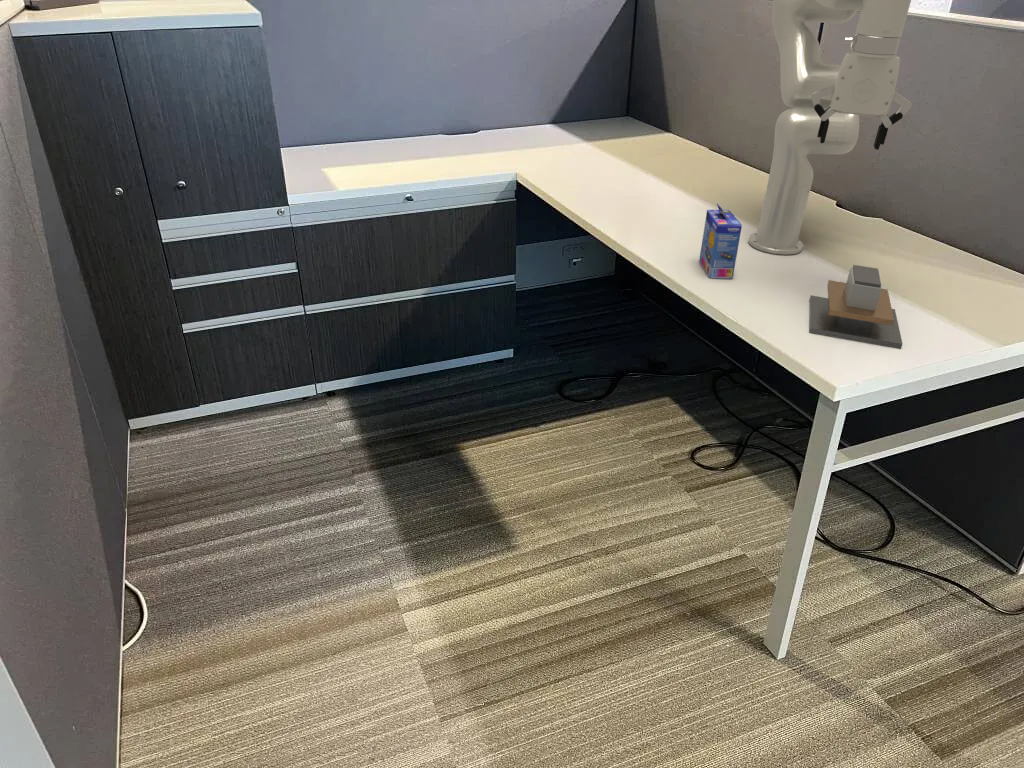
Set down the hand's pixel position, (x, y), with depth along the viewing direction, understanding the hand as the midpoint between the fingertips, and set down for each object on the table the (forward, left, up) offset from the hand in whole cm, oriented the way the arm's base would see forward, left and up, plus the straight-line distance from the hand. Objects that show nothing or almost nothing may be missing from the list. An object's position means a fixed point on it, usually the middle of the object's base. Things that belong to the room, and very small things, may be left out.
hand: (848, 144), depth 144 cm
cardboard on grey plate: (+12, +8, -30) cm, 34 cm away
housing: (+12, +8, -25) cm, 29 cm away
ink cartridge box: (-4, -20, -31) cm, 37 cm away
